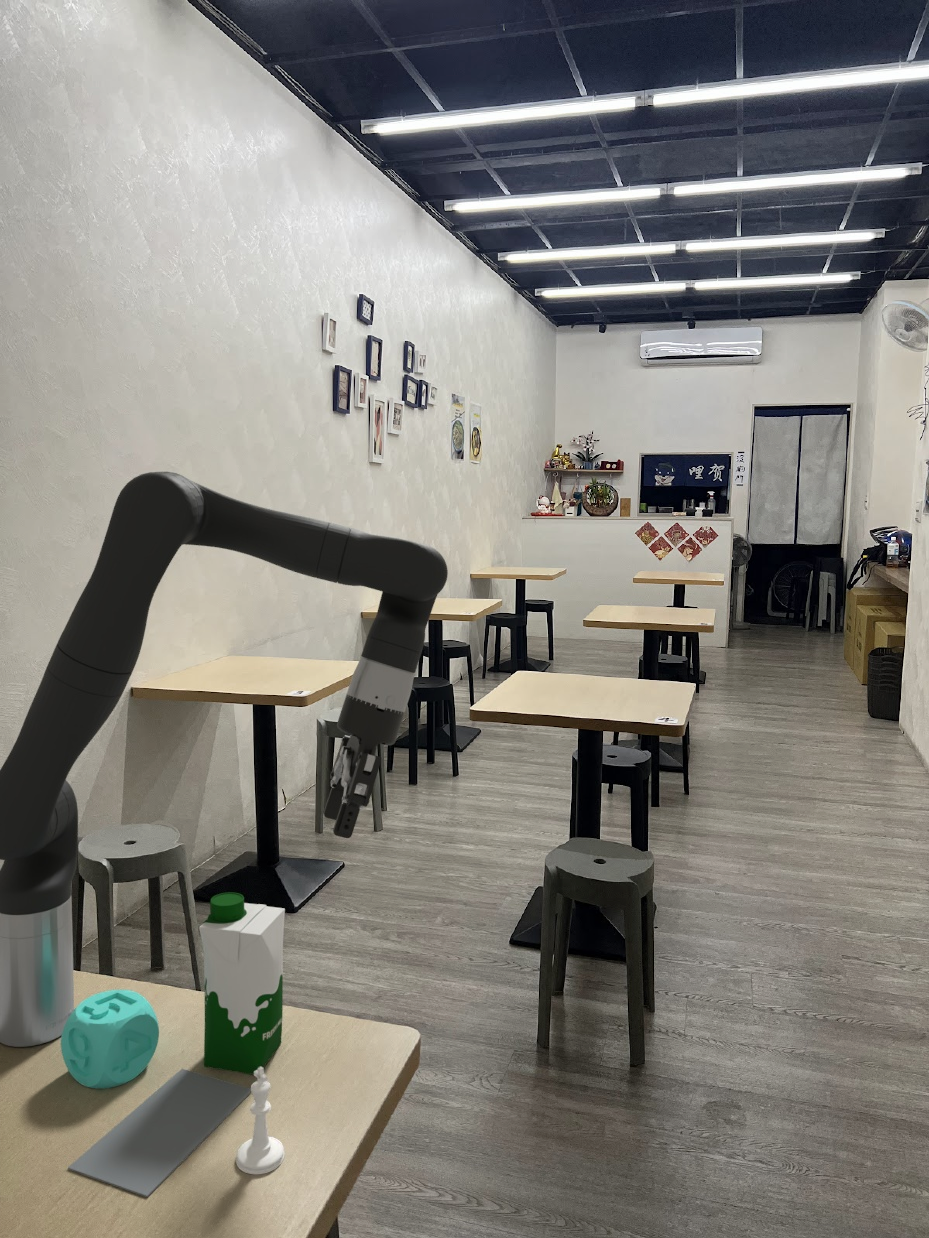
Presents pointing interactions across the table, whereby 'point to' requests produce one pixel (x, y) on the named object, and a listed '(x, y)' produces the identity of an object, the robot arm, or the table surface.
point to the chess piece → (260, 1134)
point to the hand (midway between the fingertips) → (335, 826)
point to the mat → (161, 1132)
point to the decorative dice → (109, 1038)
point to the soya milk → (242, 983)
